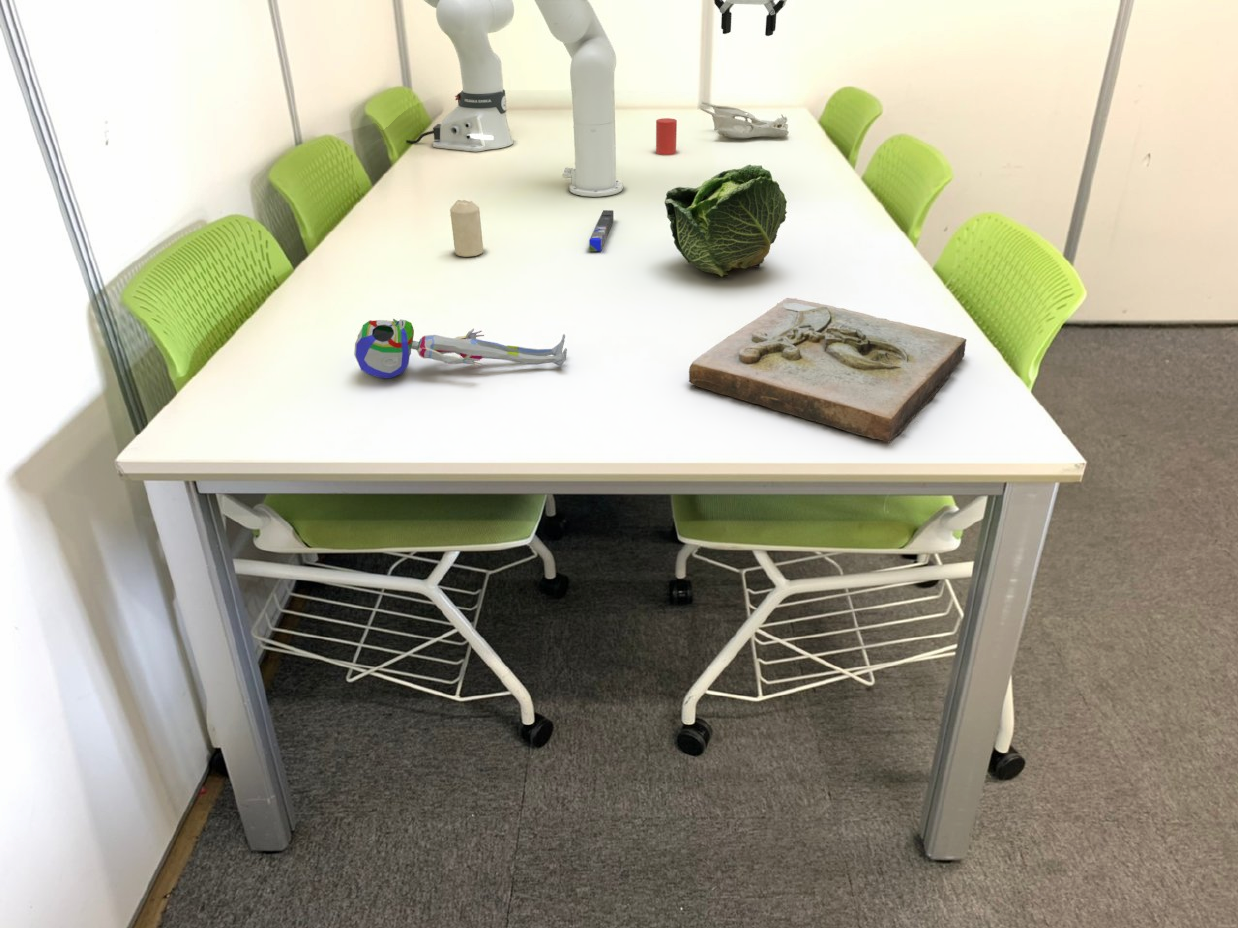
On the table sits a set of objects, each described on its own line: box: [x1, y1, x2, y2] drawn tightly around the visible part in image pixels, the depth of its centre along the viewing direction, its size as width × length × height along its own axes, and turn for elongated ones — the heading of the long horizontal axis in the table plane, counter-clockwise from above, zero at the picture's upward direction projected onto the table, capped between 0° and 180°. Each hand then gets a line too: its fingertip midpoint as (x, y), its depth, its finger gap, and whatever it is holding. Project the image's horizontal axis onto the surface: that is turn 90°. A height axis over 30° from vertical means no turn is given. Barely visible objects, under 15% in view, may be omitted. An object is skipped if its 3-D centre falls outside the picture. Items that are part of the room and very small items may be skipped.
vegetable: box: [664, 164, 788, 278], centre depth 161 cm, size 20×19×20 cm
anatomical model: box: [700, 101, 789, 140], centre depth 253 cm, size 15×9×25 cm
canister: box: [655, 117, 678, 156], centre depth 240 cm, size 5×5×8 cm
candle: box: [449, 199, 484, 258], centre depth 172 cm, size 6×6×10 cm
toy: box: [353, 318, 568, 379], centre depth 130 cm, size 10×8×30 cm
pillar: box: [588, 209, 615, 252], centre depth 182 cm, size 2×2×20 cm
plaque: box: [688, 297, 967, 444], centre depth 127 cm, size 30×7×30 cm
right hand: (747, 34), depth 192 cm, fingers open, 9 cm apart
